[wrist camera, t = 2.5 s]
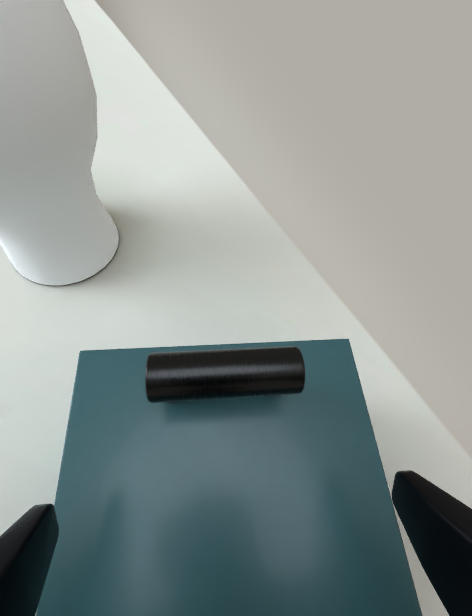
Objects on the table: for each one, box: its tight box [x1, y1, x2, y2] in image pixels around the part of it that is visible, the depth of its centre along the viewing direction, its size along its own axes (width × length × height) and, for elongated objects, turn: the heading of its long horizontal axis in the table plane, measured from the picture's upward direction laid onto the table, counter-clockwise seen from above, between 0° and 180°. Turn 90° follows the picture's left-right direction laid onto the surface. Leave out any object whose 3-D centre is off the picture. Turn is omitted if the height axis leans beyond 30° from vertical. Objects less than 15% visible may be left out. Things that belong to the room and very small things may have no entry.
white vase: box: [0, 0, 119, 285], centre depth 17 cm, size 11×11×15 cm
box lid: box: [36, 339, 422, 616], centre depth 10 cm, size 11×12×4 cm
